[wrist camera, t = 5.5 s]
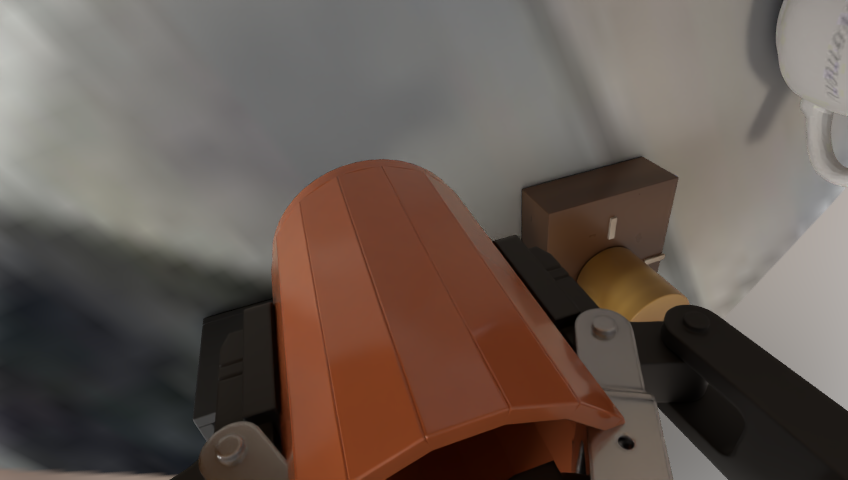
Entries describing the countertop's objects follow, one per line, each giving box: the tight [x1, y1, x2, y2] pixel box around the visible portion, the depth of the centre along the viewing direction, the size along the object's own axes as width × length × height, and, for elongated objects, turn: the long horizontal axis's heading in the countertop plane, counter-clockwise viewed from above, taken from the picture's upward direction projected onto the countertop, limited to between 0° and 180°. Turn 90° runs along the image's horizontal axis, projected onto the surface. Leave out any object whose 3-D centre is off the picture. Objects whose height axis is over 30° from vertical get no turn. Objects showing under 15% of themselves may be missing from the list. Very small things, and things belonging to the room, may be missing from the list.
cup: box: [271, 159, 625, 480], centre depth 12 cm, size 6×6×9 cm
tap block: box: [522, 157, 678, 282], centre depth 30 cm, size 11×8×3 cm
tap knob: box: [577, 247, 690, 322], centre depth 26 cm, size 4×4×5 cm
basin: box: [193, 299, 273, 441], centre depth 27 cm, size 12×14×6 cm
